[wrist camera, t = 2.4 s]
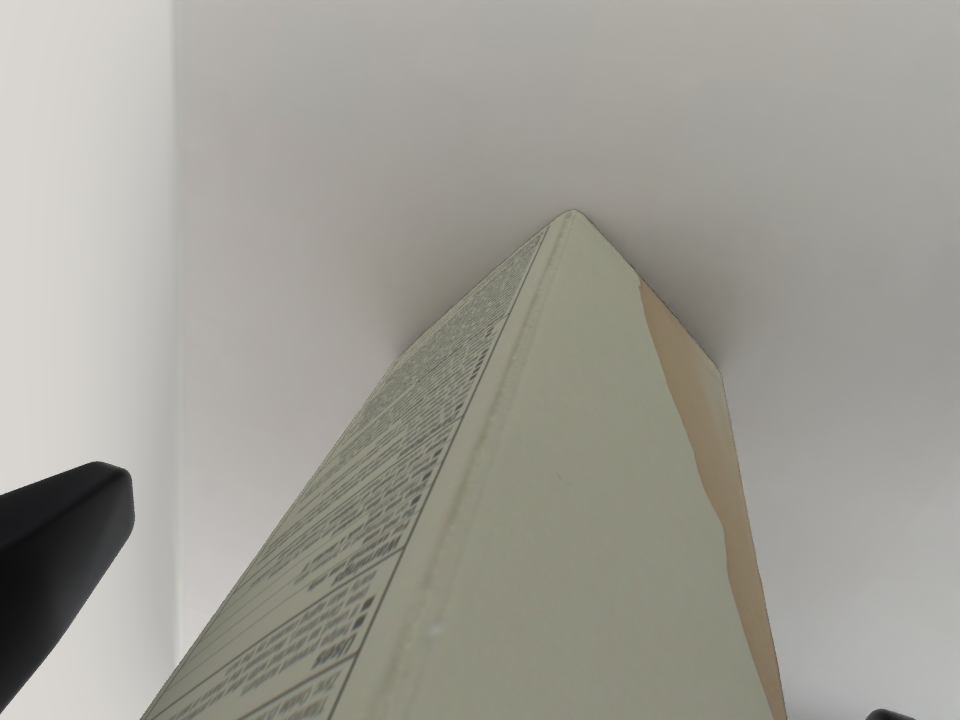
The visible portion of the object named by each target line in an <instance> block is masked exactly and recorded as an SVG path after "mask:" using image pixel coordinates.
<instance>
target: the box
mask: <svg viewBox="0 0 960 720" xmlns="http://www.w3.org/2000/svg"><path fill="white" fill-rule="evenodd" d="M140 720H787V715H786V710H785V704H784V698H783V692H782V686H781V680H780V675H779V669H778V663H777V657H776V652H775V648H774V643H773V638H772V633H771V628H770V624H769V619H768V614H767V609H766V603H765V598H764V593H763V587H762V582H761V578H760V574H759V570H758V566H757V560H756V554H755V549H754V544H753V539H752V534H751V528H750V523H749V518H748V513H747V507H746V502H745V497H744V491H743V486H742V480H741V475H740V469H739V463H738V458H737V452H736V447H735V442H734V437H733V431H732V426H731V421H730V416H729V411H728V406H727V401H726V396H725V390H724V385H723V380H722V376H721V373H720V371H719V370H718V368H717V367H716V365H715V364H714V363H713V362H712V361H711V360H710V358H709V357H708V356H707V355H706V353H705V352H704V351H703V350H702V348H701V347H700V346H699V345H698V344H697V342H696V341H695V340H694V339H693V338H692V336H691V335H690V334H689V333H688V331H687V330H686V329H685V328H684V327H683V325H682V324H681V323H680V322H679V321H678V320H677V318H676V317H675V316H674V315H673V314H672V312H671V311H670V310H669V309H668V308H667V307H666V306H665V304H664V303H663V302H662V301H661V300H660V298H659V297H658V296H657V295H656V294H655V293H654V292H653V291H652V290H651V288H650V287H649V286H648V285H647V284H646V283H645V282H644V280H643V279H642V278H641V277H640V276H639V275H638V274H637V273H636V271H635V270H634V269H633V268H632V267H631V266H630V265H629V264H628V263H627V261H626V260H625V259H624V258H623V257H622V256H621V255H620V254H619V252H618V251H617V250H616V249H615V248H614V247H613V246H612V245H611V244H610V243H609V242H608V241H607V240H606V238H605V237H604V236H603V235H602V234H601V233H600V232H599V231H598V230H597V229H596V228H595V226H594V225H593V224H592V223H591V222H590V221H589V220H588V219H587V218H586V217H585V216H584V215H583V214H582V213H581V212H579V211H577V210H569V211H566V212H564V213H563V214H561V215H560V216H558V217H557V218H556V219H555V220H553V221H552V222H551V223H550V224H549V225H547V226H546V227H545V228H544V229H542V230H541V231H540V232H538V233H537V234H536V235H535V236H534V237H532V238H531V239H530V240H529V241H527V242H526V243H525V244H524V245H523V246H521V247H520V248H519V249H518V250H516V251H515V252H514V253H513V254H512V255H511V256H510V257H508V258H507V259H506V260H505V261H504V262H503V263H502V264H500V265H499V266H498V267H497V268H496V269H495V270H493V271H492V272H491V273H490V274H489V275H488V276H487V277H485V278H484V279H483V280H482V281H481V282H480V283H479V284H478V285H477V286H475V287H474V288H473V289H472V290H471V291H470V292H469V293H468V294H467V295H466V296H464V297H463V298H462V299H461V300H460V301H459V302H458V303H457V304H456V305H455V306H453V307H452V308H451V309H450V310H449V311H448V312H447V313H446V314H444V315H443V316H442V317H441V318H440V319H439V320H438V321H437V322H436V323H435V324H433V325H432V326H431V327H430V328H429V329H428V330H427V331H426V332H425V333H424V334H423V335H422V336H421V337H419V338H418V339H417V340H416V341H415V342H414V343H413V344H412V345H411V346H410V347H409V348H408V349H407V350H406V351H405V352H404V353H403V354H402V355H400V356H399V357H398V358H397V359H396V360H395V361H394V362H393V364H392V365H391V366H390V368H389V369H388V371H387V373H386V374H385V375H384V377H383V378H382V380H381V381H380V383H379V384H378V386H377V387H376V388H375V390H374V391H373V393H372V394H371V395H370V397H369V398H368V400H367V401H366V403H365V404H364V405H363V407H362V408H361V410H360V411H359V412H358V414H357V415H356V417H355V418H354V419H353V421H352V422H351V424H350V425H349V426H348V428H347V429H346V430H345V432H344V433H343V434H342V436H341V437H340V438H339V440H338V441H337V443H336V444H335V446H334V447H333V449H332V450H331V451H330V453H329V454H328V456H327V457H326V458H325V460H324V461H323V463H322V464H321V465H320V467H319V468H318V470H317V471H316V472H315V474H314V475H313V476H312V478H311V479H310V481H309V482H308V483H307V485H306V486H305V487H304V489H303V490H302V492H301V493H300V494H299V496H298V497H297V499H296V500H295V501H294V503H293V504H292V506H291V507H290V508H289V510H288V511H287V513H286V514H285V515H284V517H283V518H282V520H281V521H280V522H279V524H278V525H277V527H276V528H275V529H274V531H273V532H272V534H271V535H270V537H269V538H268V539H267V541H266V542H265V544H264V545H263V547H262V548H261V549H260V551H259V552H258V554H257V555H256V557H255V558H254V559H253V561H252V562H251V564H250V565H249V566H248V568H247V569H246V570H245V572H244V573H243V575H242V576H241V577H240V579H239V580H238V582H237V583H236V584H235V586H234V587H233V589H232V590H231V591H230V593H229V594H228V596H227V597H226V599H225V600H224V601H223V603H222V604H221V606H220V607H219V609H218V610H217V611H216V613H215V614H214V615H213V617H212V618H211V620H210V621H209V622H208V624H207V625H206V627H205V628H204V630H203V631H202V632H201V634H200V635H199V637H198V638H197V640H196V641H195V642H194V644H193V645H192V647H191V648H190V649H189V651H188V652H187V654H186V655H185V656H184V658H183V659H182V660H181V662H180V663H179V665H178V666H177V667H176V669H175V670H174V672H173V673H172V674H171V676H170V677H169V679H168V680H167V682H166V683H165V684H164V686H163V687H162V689H161V690H160V691H159V693H158V694H157V696H156V697H155V699H154V700H153V702H152V703H151V704H150V706H149V707H148V709H147V710H146V711H145V713H144V714H143V716H142V717H141V719H140Z"/></svg>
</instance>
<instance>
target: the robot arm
mask: <svg viewBox="0 0 960 720" xmlns="http://www.w3.org/2000/svg"><path fill="white" fill-rule="evenodd" d="M134 521H135V512H134V500H133V488H132V478H131V475H130V474H129V472H128V471H127V470H125V469H123V468H120V467H117V466H114V465H111V464H108V463H104V462H98V461H96V462H91V463H87V464H85V465H82V466H79V467H76V468H74V469H71V470H68V471H66V472H63V473H60V474H57V475H55V476H52V477H49V478H46V479H44V480H41V481H38V482H35V483H33V484H30V485H27V486H24V487H22V488H19V489H16V490H13V491H11V492H8V493H5V494H3V495H0V714H1V712H2V711H3V710H4V709H5V708H6V706H7V705H8V704H9V703H10V701H11V700H12V699H13V698H14V696H15V695H16V694H17V693H18V692H19V691H20V689H21V688H22V687H23V686H24V684H25V683H26V682H27V681H28V679H29V678H30V677H31V676H32V675H33V673H34V672H35V671H36V670H37V668H38V667H39V666H40V665H41V664H42V662H43V661H44V660H45V659H46V657H47V656H48V655H49V654H50V652H51V651H52V650H53V648H54V647H55V646H56V644H57V643H58V642H59V640H60V639H61V637H62V636H63V634H64V633H65V632H66V630H67V629H68V628H69V626H70V625H71V623H72V622H73V620H74V619H75V617H76V615H77V614H78V613H79V611H80V610H81V608H82V607H83V605H84V604H85V602H86V601H87V599H88V598H89V596H90V595H91V593H92V591H93V590H94V589H95V587H96V586H97V584H98V583H99V581H100V580H101V578H102V577H103V575H104V574H105V572H106V571H107V569H108V568H109V566H110V565H111V563H112V562H113V560H114V559H115V557H116V556H117V554H118V553H119V551H120V550H121V548H122V547H123V545H124V544H125V542H126V541H127V539H128V538H129V536H130V534H131V532H132V529H133V526H134ZM866 720H915V719H913V718H910V717H907V716H904V715H901V714H898V713H895V712H892V711H888V710H885V709H878V710H875V711H873V712H872V713H871V714H870V715H869V716H868V717H867V718H866Z"/></svg>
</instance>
